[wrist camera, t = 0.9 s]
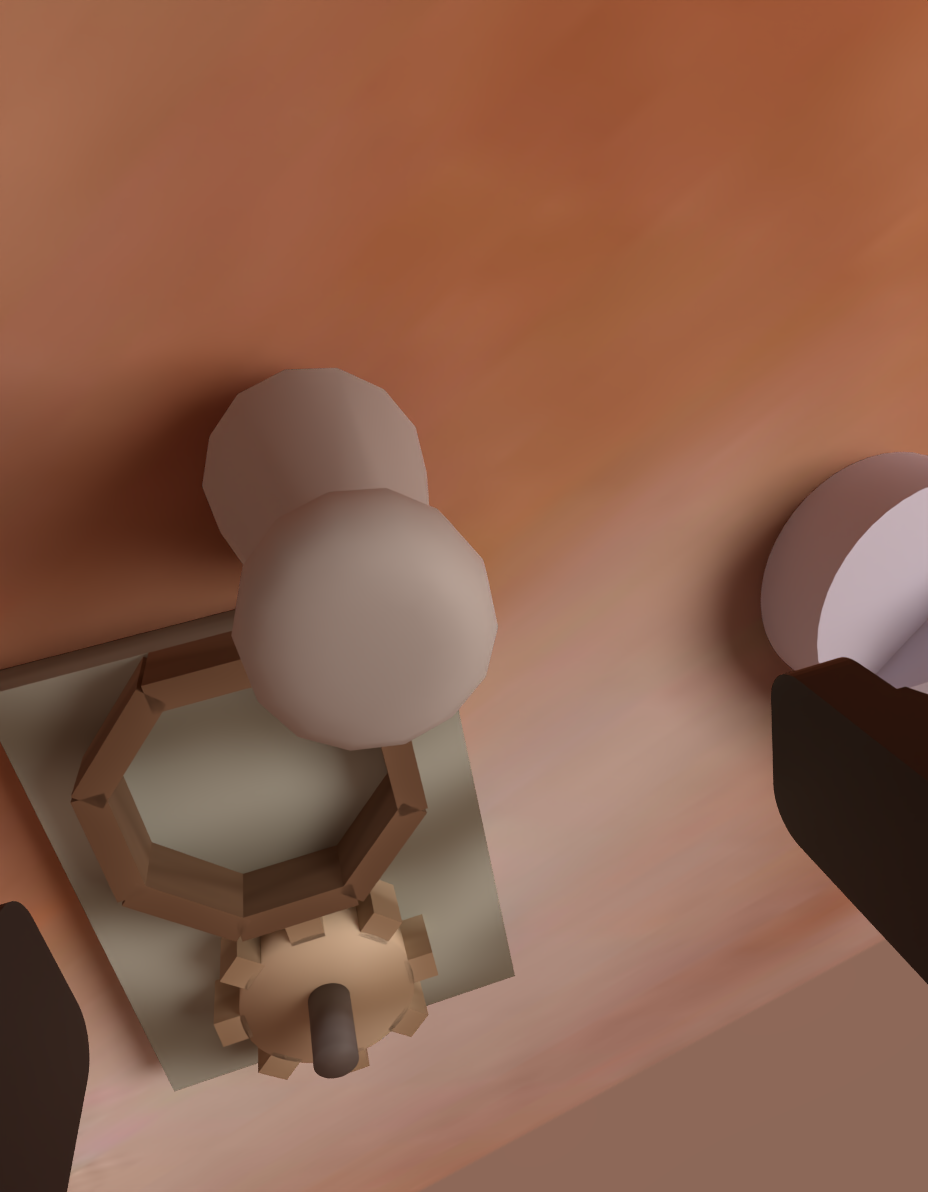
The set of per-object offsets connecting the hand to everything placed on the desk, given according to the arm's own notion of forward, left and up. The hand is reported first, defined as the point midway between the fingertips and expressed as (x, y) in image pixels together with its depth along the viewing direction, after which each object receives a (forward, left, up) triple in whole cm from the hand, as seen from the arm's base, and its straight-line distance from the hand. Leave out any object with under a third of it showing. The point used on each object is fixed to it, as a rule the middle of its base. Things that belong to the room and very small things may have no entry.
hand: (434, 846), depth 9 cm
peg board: (+12, -4, -17) cm, 22 cm away
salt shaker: (0, 0, -18) cm, 18 cm away
